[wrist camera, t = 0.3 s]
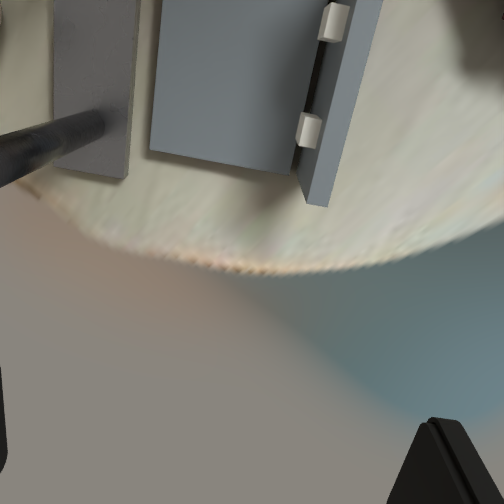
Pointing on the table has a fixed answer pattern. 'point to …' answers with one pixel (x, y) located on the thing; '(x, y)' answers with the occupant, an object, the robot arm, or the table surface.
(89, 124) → the cord gate
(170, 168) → the table surface
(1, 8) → the silver bottle
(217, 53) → the switch board
